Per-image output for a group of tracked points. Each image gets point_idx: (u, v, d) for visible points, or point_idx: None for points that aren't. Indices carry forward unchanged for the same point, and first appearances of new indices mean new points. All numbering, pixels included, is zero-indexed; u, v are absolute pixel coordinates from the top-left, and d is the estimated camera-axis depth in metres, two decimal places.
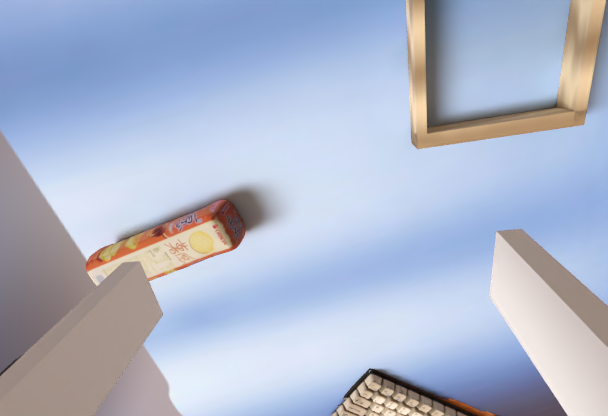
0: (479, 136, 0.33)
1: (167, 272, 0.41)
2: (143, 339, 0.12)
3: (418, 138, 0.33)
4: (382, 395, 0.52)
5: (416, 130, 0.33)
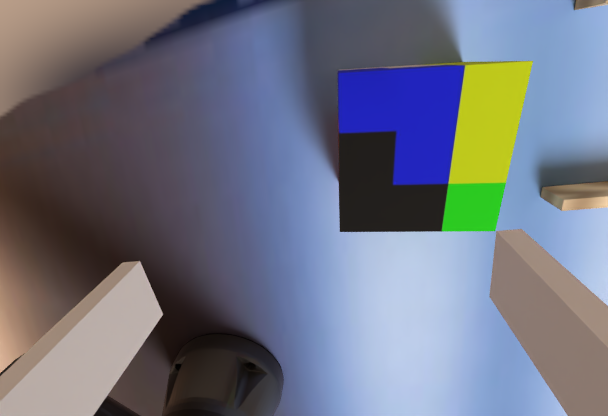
0: None
1: None
2: (143, 339, 0.12)
3: None
4: None
5: None
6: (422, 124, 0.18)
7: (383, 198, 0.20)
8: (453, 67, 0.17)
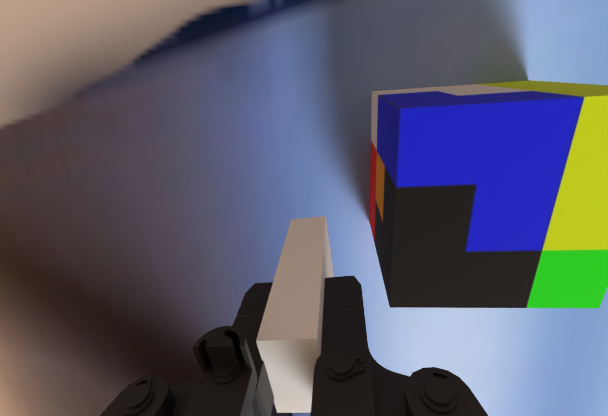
0: None
1: None
2: None
3: None
4: None
5: None
6: (514, 175, 0.13)
7: (451, 267, 0.15)
8: (567, 100, 0.12)
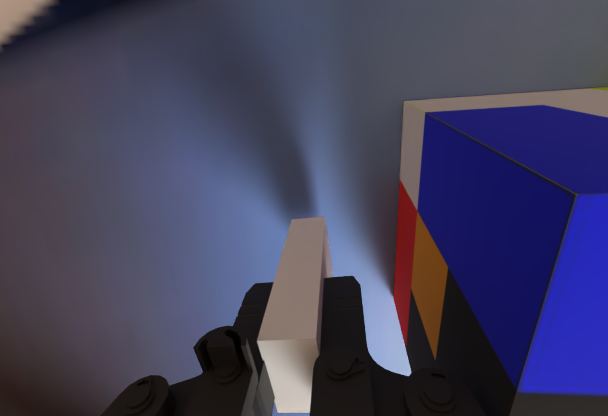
0: None
1: None
2: None
3: None
4: None
5: None
6: None
7: None
8: None
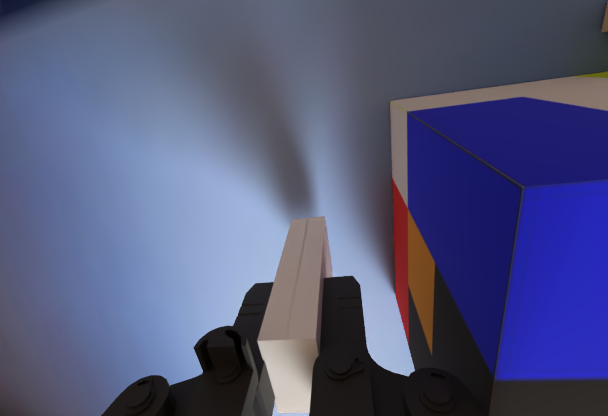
0: None
1: None
2: None
3: None
4: None
5: None
6: None
7: None
8: None
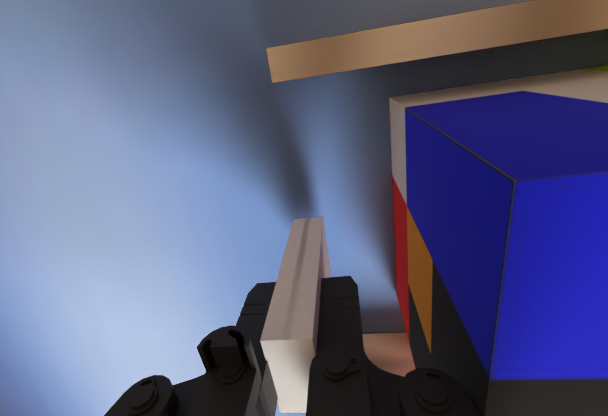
0: None
1: None
2: None
3: None
4: None
5: None
6: None
7: None
8: None
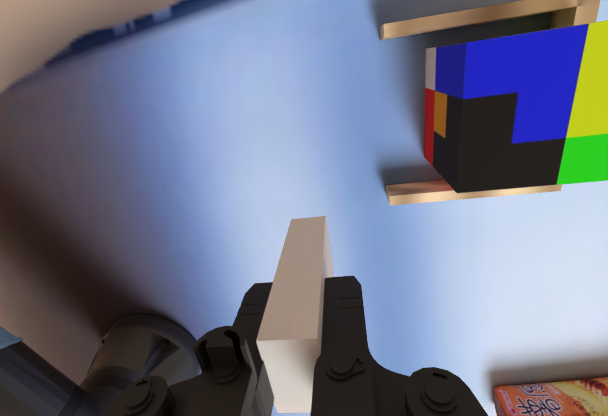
0: None
1: None
2: None
3: (547, 190, 0.29)
4: None
5: None
6: (544, 82, 0.20)
7: (501, 157, 0.22)
8: (577, 26, 0.18)
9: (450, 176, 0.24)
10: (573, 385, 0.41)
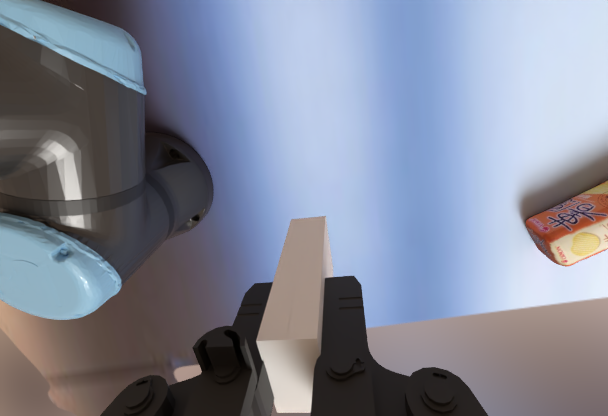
0: None
1: None
2: None
3: None
4: None
5: None
6: None
7: None
8: None
9: None
10: (603, 184, 0.39)
